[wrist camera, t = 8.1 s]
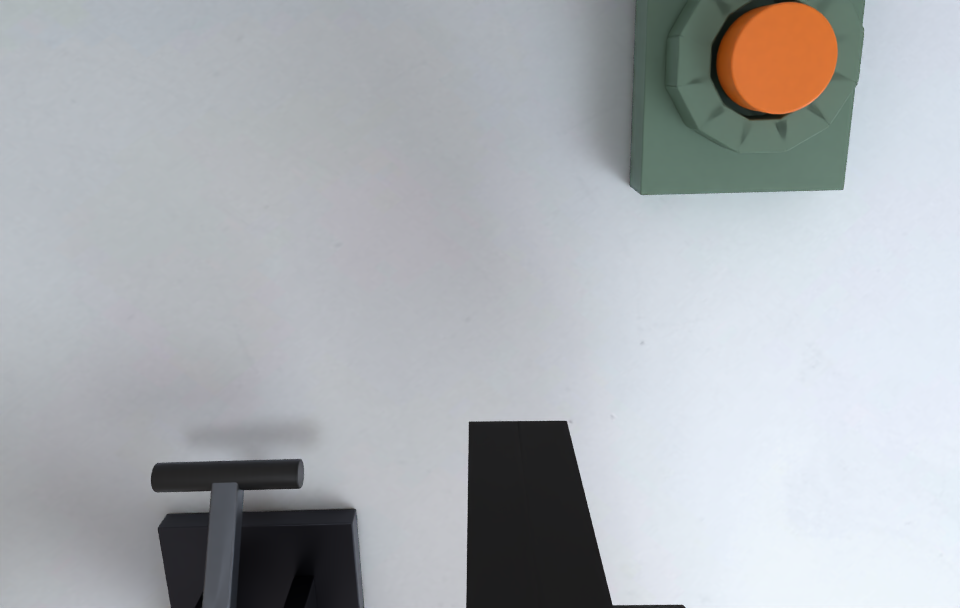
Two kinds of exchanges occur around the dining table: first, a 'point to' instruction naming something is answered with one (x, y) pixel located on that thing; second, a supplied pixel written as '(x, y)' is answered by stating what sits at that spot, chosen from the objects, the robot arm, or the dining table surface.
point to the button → (777, 58)
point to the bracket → (271, 559)
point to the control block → (732, 107)
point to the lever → (225, 510)
